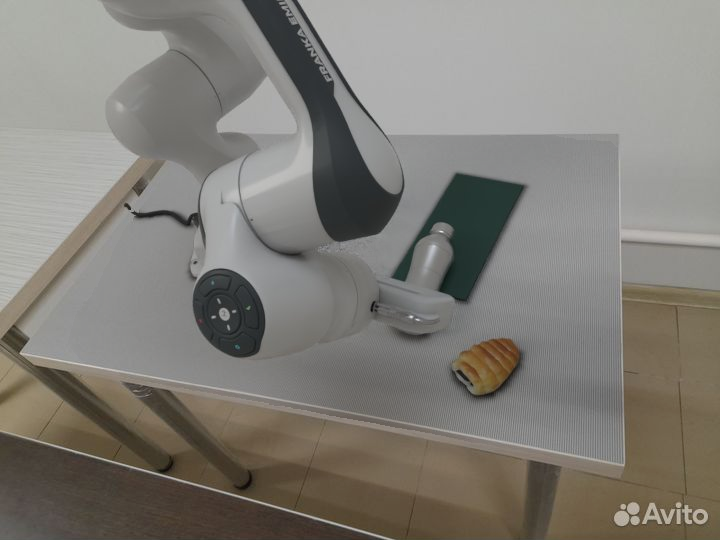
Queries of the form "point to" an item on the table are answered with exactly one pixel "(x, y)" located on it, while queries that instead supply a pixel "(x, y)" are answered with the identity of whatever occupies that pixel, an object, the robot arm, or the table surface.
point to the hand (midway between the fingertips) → (391, 285)
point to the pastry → (486, 365)
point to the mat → (468, 228)
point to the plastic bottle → (432, 259)
